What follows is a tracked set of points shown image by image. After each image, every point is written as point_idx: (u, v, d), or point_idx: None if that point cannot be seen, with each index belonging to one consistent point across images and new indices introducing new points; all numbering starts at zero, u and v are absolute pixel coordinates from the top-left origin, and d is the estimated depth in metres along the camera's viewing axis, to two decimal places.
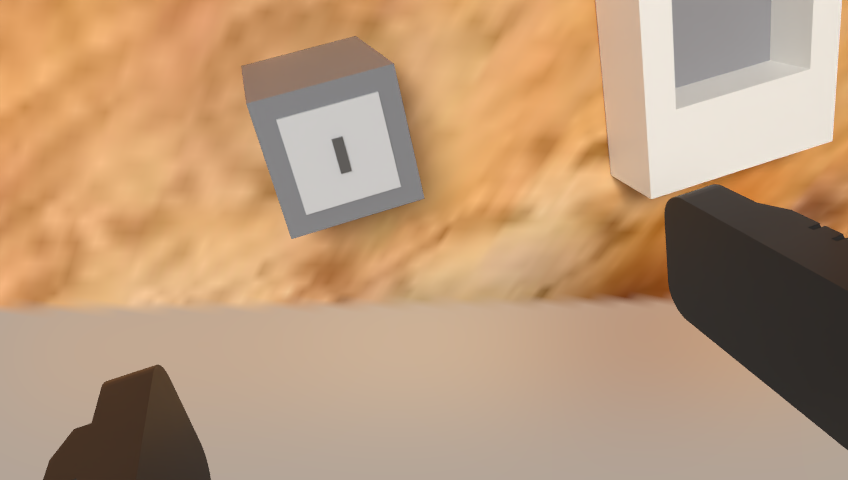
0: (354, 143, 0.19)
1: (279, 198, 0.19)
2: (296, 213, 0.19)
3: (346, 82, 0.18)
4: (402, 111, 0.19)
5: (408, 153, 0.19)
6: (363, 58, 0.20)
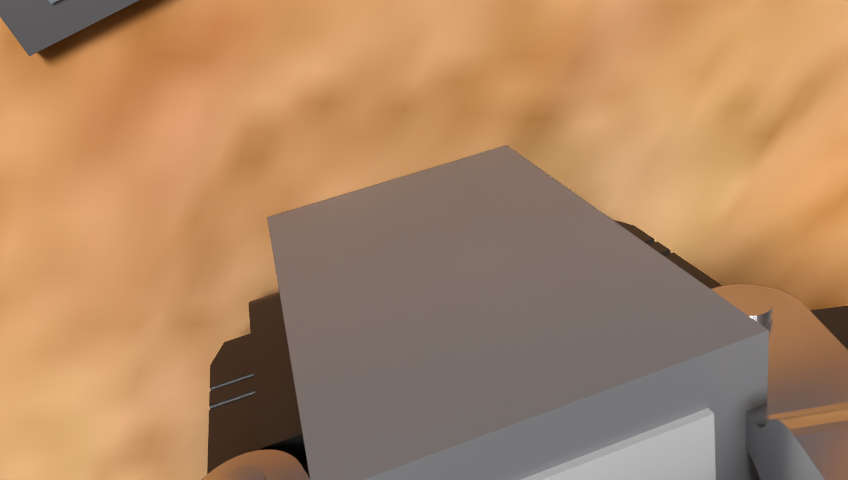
0: None
1: None
2: None
3: (627, 398, 0.06)
4: None
5: None
6: (611, 264, 0.07)
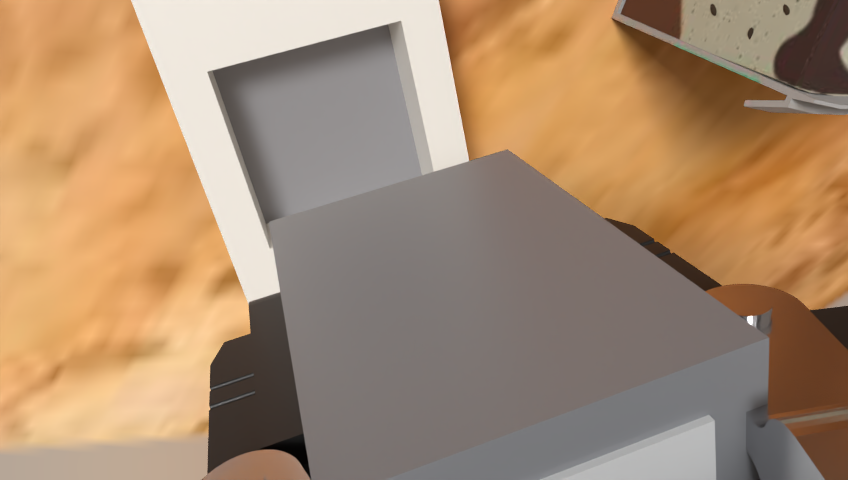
0: None
1: None
2: None
3: (629, 405, 0.06)
4: None
5: None
6: (612, 270, 0.07)
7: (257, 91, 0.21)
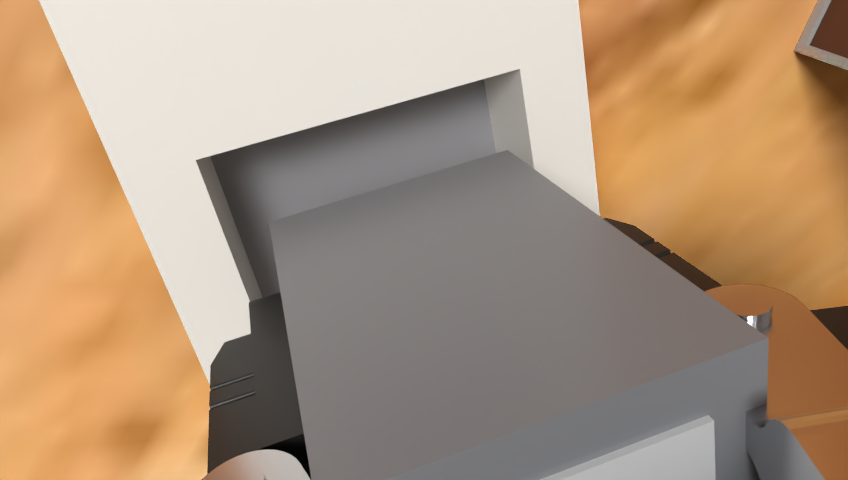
0: None
1: None
2: None
3: (628, 406, 0.06)
4: None
5: None
6: (612, 270, 0.07)
7: (277, 174, 0.13)
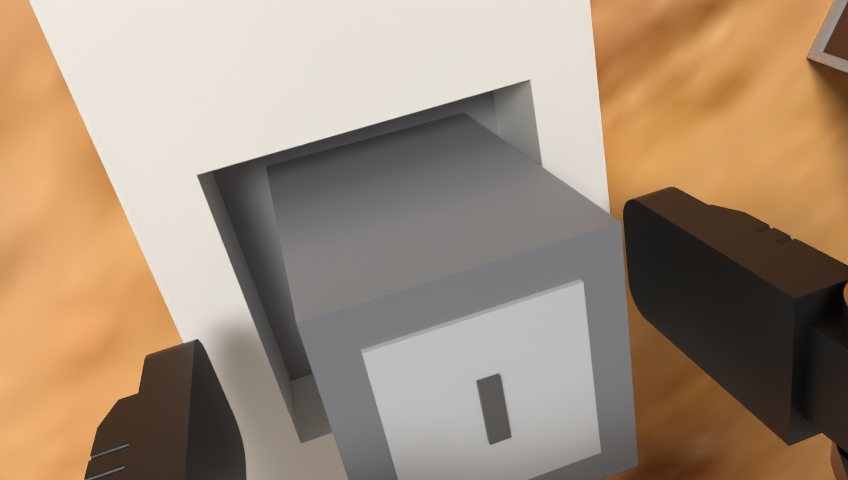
0: (520, 382, 0.09)
1: None
2: None
3: (518, 266, 0.08)
4: (623, 314, 0.09)
5: (621, 390, 0.09)
6: (525, 187, 0.10)
7: None
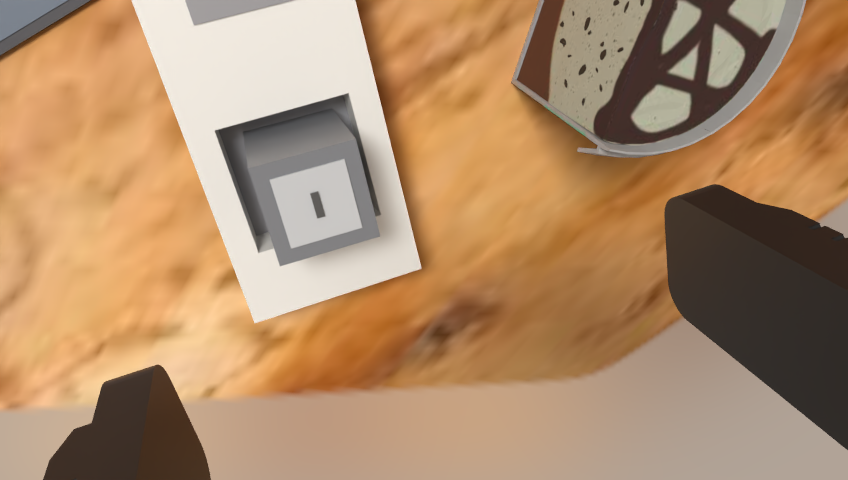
0: (327, 196, 0.25)
1: (271, 236, 0.25)
2: (283, 247, 0.26)
3: (321, 152, 0.25)
4: (362, 172, 0.25)
5: (367, 202, 0.26)
6: (335, 132, 0.26)
7: None
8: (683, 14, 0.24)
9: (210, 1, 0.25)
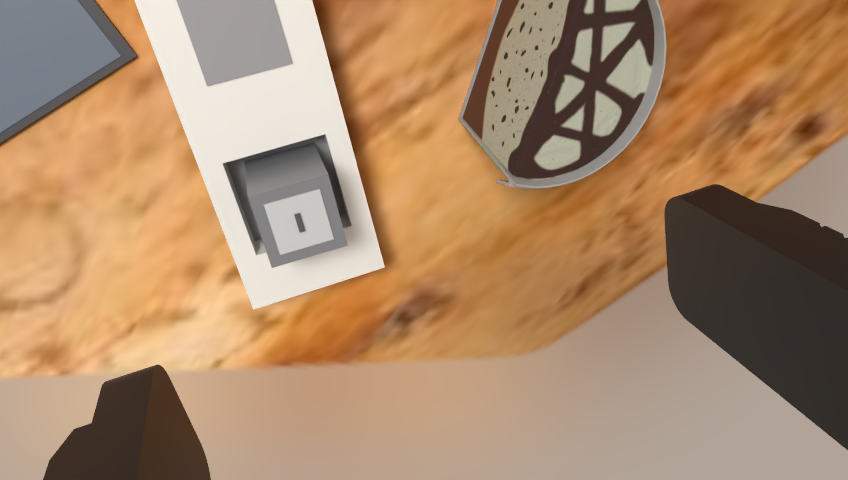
0: (307, 216, 0.34)
1: (265, 246, 0.34)
2: (274, 254, 0.34)
3: (302, 184, 0.33)
4: (333, 198, 0.34)
5: (337, 220, 0.34)
6: (313, 166, 0.35)
7: None
8: (569, 85, 0.32)
9: (219, 68, 0.34)
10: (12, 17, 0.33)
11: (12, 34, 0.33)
